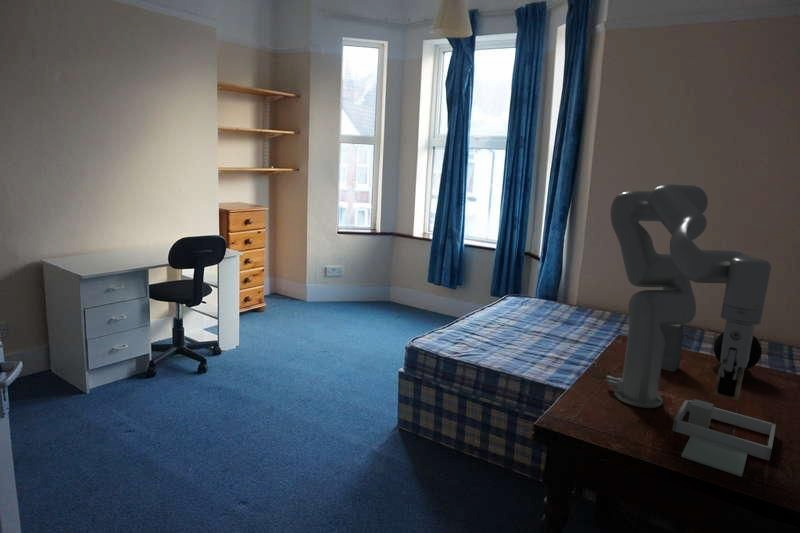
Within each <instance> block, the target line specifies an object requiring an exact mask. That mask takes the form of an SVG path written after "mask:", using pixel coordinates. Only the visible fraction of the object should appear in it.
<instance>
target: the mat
mask: <svg viewBox="0 0 800 533" xmlns="http://www.w3.org/2000/svg"><path fill="white" fill-rule="evenodd" d="M748 455H749V454H748V452H746V451H743V450H740V449H736V448H733V447H730V446H727V445H723V444H720V443H717V442H714V441H710V440H707V439H704V438H701V437H698V436H694V435H691V436H689V439H688V441H687V442H686V444H685V446H684V449H683V451H682V453H681V456H680V457H681V458H684V459H687V460H690V461H693V462H696V463H698V464H702V465H706V466H708V467H711V468H713V469H717V470H719V471H720V470H721V471H723V472H725V473H726V472H727V473H729V474H733V475H735V476H738V477H743V474H744V471H745V465H746V462H747V461H746V460H747V458H748Z"/></svg>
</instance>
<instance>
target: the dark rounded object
mask: <svg viewBox="0 0 800 533" xmlns="http://www.w3.org/2000/svg"><path fill="white" fill-rule="evenodd" d="M723 336H724V331H723V332H722V333H720V334H719V335H718V336H717V337H716V338H715V340H714V343H713V354H714V357H715V358H716V359H717V361H718V362H719V363H716V365H714V366H713V367H712V372H713V373H714V374H716V375H717V376H718V371H719V368H720V366H721V364H722V363H721V362H720V359H721V350H722V342H723ZM761 357H762V346H761V342H760V341H759V340H758V338H757V337H756V336H755V335H754V334H753V339H752V345H751V350H750V356H749V361H748V364H747V366H746V368H745V369H744V374H743V379H742V382H751V381H753V380H754V379H753V378H754V375H753V374H752V371H751V370H750V369H751V368H752V367H753V368H754V367H755V366H756V365H757V364H758V363H759V361H760V360H761ZM740 368H741V369H742V367H740Z"/></svg>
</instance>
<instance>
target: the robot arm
mask: <svg viewBox="0 0 800 533" xmlns="http://www.w3.org/2000/svg"><path fill="white" fill-rule="evenodd" d="M708 203H709V201H708V196H707V194H706V191H704V190H703V188H701V187H699V186H696V185H691V184H690V185H689V184H688V185H687V184H669V183H668V184H662V185H658V186H657V187H655V188H654V189H652V190H651V191H650V190H627V191H624V192H621V193H619V194H617V195H616V196H615V197H614V199H613V201H612V204H611V206H610V222H611V226H612V229H613V231H614V233H615V235H616V238H617V240H618V243H619V246H620V251H621V256H622V259H623V265H624V268H625V273H626V276H627V280H628V281H629V283H630V284H631V285H632V286H634V287H637V288H662V289H645V290H640V291H636V292H635V293H633V294H632V295H631V296H630V298H629V300H628V306H627V307H628V308H627V310H628V311H627V312H628V332H627V333H628V334H627V340H626V350H625V355H624V356H625V357H624V362H623V370H622V375H621V377H618V378H617V377H614V376H612V375H606V378H605V382H607V385H608V386H613V387H615V388H614V392H613V395H614V396H615V397H616V399H618V400H619V401H621V402H623V403H625V404H627V405H628V406H629V405H630V406H633V407H638V408H644V409H646V408H647V409H654V408H658V407H660V406H662V404H663V397H662V396H661V394H658V391H659V390H658V389H659V385H660V379H661V371H662V369H661V367H662V360H663V354H664V347H665V339H664V336H663V334H662V332H661V330H660V325H680V324H684V325H686V324H689V323H691V322H692V321H693V320H694V318H695V316H696V314H697V304H696V299H695V294H694V291H693V288H692V283H691V282H694V283H698V284H725V290H724V294H723V295H724V296H723V301H722V307H721V311H720V312H721V313H720V318H721V319H723V320H725V325H724V331H723V332H724V336H723V342H722V350H721V359H720V362H721V363H722V364H723V370H722V375H721V376H720V381H719V386H718V393H719V394H722V395H726V396H730V397H734V395H735V389H736V384H737V380H736V376H737V371H738V368H740V367H742V369H745V368H746V366H747V364H748V361H749V356H750V350H751V345H752V339H753V335H754V333H755V326H758V325H760V324H761V323H762V318H763V312H764V307H765V302H766V295H767V291H768V287H769V286H768V285H769V281H770V276H771V270H772V265H771V263H770V262H769V261H768V260H766V259H763V258H759V257H754V256H753V257H752V256H750V255H747V254H746V253H743V252H741V251H736V250H718V249H715V250H714V249H700V248H699V247H698V246H697V244H695V243H694V240H695V239H698V237H700V236H701V235H702V233H704V231H705V230H706V228H707V224H708V223H707V222H708V221H707V218H706V217H705V216H706V215H704V213H705V212H706V210H707V207H708ZM642 221H643V222H661V224H662V225H663V226H664V227H665V228H666V230H667V231H668V233H669V234H670V235H671V237H670V240H669V253H658V252H657V251H656V249H655V246H654V244H653V239H652V237H651V235H650V234H649V232H648V230H647V229H646V228H645V227H643V225H641V224H640V222H642ZM720 362H719V363H720ZM733 368H734V369H735V371H734V370H733Z"/></svg>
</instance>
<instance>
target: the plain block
mask: <svg viewBox="0 0 800 533" xmlns="http://www.w3.org/2000/svg"><path fill="white" fill-rule="evenodd" d="M692 401H693V402H692V404H691V408H690V412H689V414H688V420H687V422H688V423H691V424H695V425H698V426H701V427H705V428H708V429H710V426H711V420H712V418H711V416H712V411H713V407H714V403H710V402H708V401H704V400H700V399H696V398H693V400H692Z"/></svg>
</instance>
